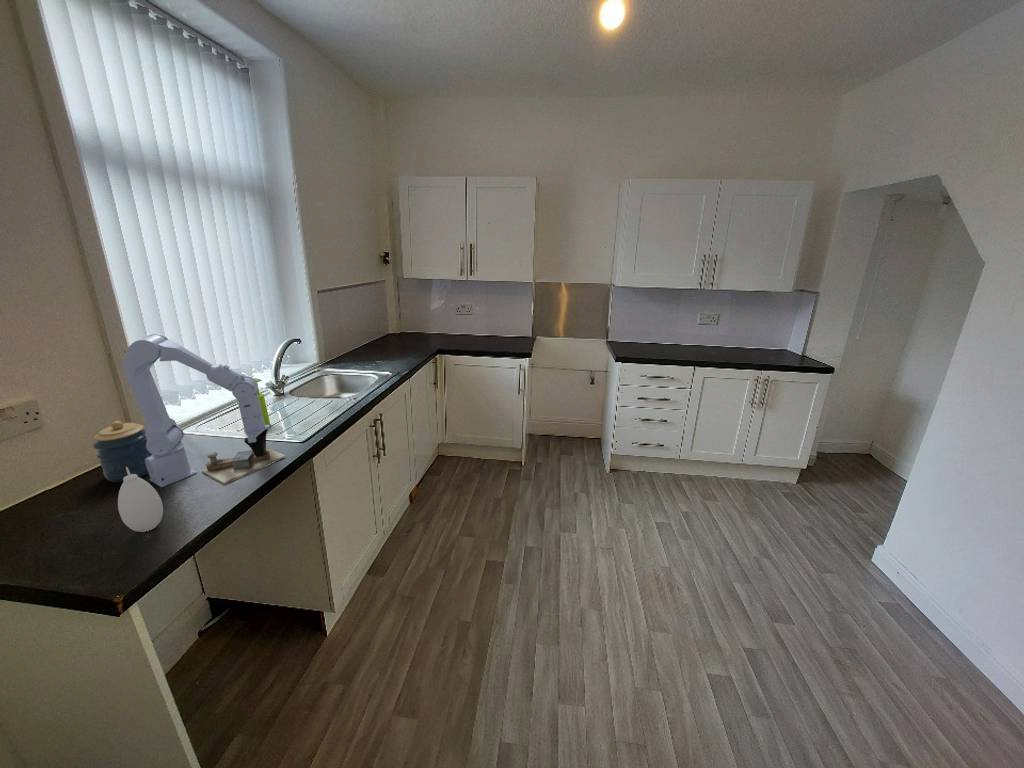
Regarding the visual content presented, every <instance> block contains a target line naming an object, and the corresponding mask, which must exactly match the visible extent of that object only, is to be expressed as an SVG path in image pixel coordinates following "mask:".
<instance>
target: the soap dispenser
mask: <svg viewBox="0 0 1024 768" xmlns="http://www.w3.org/2000/svg"><path fill="white" fill-rule="evenodd" d="M252 378H253V377H252ZM253 379H254V380H256V381H257V383H260V382H261V381H262V379H261V378H256V377H255V378H253ZM256 392H257V394H258V398H259V401H260V405H261V409H262V414H263V418H264V423H265V425H270V426H271V421H270V417H269V412H268V407H267V404H266V403H267V402H266V399H265V396H264V393H261V392H260V389H259V388H258V389H257V391H256ZM256 392H255V393H256Z"/></svg>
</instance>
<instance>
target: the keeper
mask: <svg viewBox="0 0 1024 768" xmlns="http://www.w3.org/2000/svg"><path fill="white" fill-rule="evenodd" d="M252 455H253V451H252V449H250V450H244V451H242V450H241V451H238V452H237V453H236V454H235V456H233V457H234V459H233V460H232V461H231V462H232V466H233V469H234V470H240V469H247V468H250V467H251V466H252V464H251V460H250V458H251V456H252Z"/></svg>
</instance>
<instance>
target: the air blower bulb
mask: <svg viewBox="0 0 1024 768" xmlns="http://www.w3.org/2000/svg"><path fill="white" fill-rule="evenodd" d="M126 470H127V474H128V476H125V477H124V478H123V482H122V484H121V486H120V489H119V491H118V497H117V509H118V513H119V515H120V518H121V521H122V522H123V524H125V526H126V527H128V528H129V529H130V530H132V531H134V532H140V533H146V531H147V532H150V531H152V530H153V529H155V528H157V526H158V525H159V524H160V522H161V521H162V518H163V516H164V515H163V514H164V504H163V501H162V498H161V496H160V495H159V493H158V491H157V490H156V488H154V486H153V485H151V484H150V483H149V482H148V481H146V480H145V479H143V478H142V477H138V476H137V475H136V474H130V472H129V469H128V468H127V467H126ZM149 530H150V531H149Z"/></svg>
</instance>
